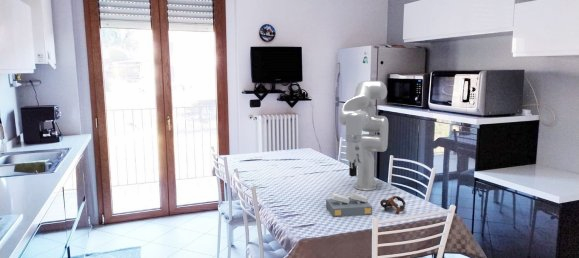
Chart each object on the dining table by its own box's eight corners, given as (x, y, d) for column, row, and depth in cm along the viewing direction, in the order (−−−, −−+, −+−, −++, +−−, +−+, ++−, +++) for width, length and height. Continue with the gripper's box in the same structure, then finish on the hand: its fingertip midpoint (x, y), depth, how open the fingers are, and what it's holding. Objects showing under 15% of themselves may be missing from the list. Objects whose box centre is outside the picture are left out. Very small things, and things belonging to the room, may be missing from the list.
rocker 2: (363, 199, 194) (364, 195, 194) (366, 202, 190) (367, 198, 190) (348, 195, 193) (350, 191, 193) (351, 198, 189) (352, 194, 188)
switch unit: (362, 204, 200) (362, 195, 199) (372, 214, 186) (372, 204, 185) (326, 206, 197) (326, 197, 196) (333, 217, 183) (333, 206, 182)
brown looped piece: (396, 207, 198) (403, 195, 193) (402, 221, 190) (410, 209, 186) (374, 202, 195) (382, 191, 191) (379, 217, 187) (387, 205, 183)
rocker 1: (345, 200, 193) (347, 196, 193) (348, 203, 189) (349, 199, 189) (330, 196, 192) (332, 192, 191) (333, 199, 187) (334, 195, 187)
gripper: (366, 140, 180) (366, 179, 183) (355, 135, 195) (355, 171, 197) (351, 141, 179) (350, 180, 181) (341, 136, 193) (340, 172, 196)
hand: (352, 175), depth 189 cm, fingers closed
